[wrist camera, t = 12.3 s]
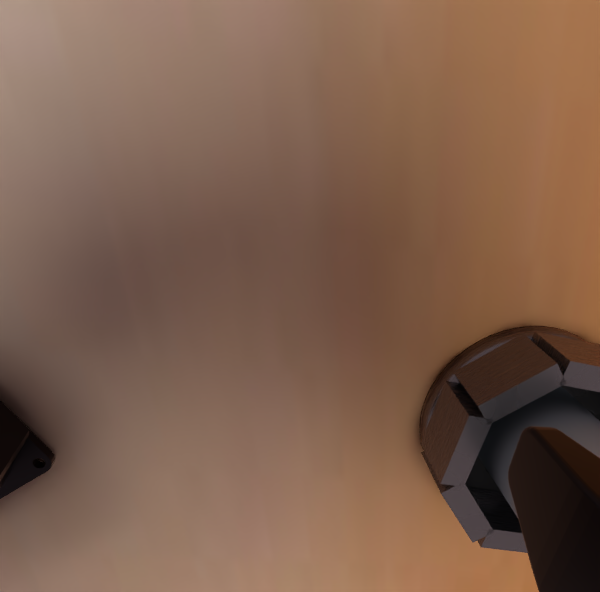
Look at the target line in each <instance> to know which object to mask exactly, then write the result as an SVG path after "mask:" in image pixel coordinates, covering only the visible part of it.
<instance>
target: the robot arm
mask: <svg viewBox="0 0 600 592" xmlns="http://www.w3.org/2000/svg"><path fill="white" fill-rule="evenodd" d="M37 458H40V459H43V460H44V461H45V462H40V461H39V460H37ZM54 460H55V456H54V454H53V452H52V451H51V450H50V449H49V448H48V447H47V446H46V445H45V444H44V443H43V442H42V441H41V440H40V439H39V438H38V437H37V436H36V435H35V434H34V433H33V432H32V431H31V430H30V429H29V428H28V427H27V426H26V425H25V424H24V423H23V422H22V421H21V420H19V419H18V418H17V417H16V416H15V415H14V414H13V413H12V412H11V411H10V410H9V409H8V408H7V407H6V406H5V405H4V404H3V403H2V402H1V401H0V499H1V498H2V497H4V496H6V495H8V494H9V493H11V492H13V491H14V490H16V489H18V488H19V487H21V486H23V485H25V484H26V483H28V482H30V481H31V480H33V479H35V478H36V477H38V476H40V475H42V474H43V473H45V472H47V471H48V470H49V469H50V468H51V466H52V464H53V462H54ZM508 482H509V487H510V490H511V494H512V498H513V501H514V505H515V509H516V512H517V516H518V519H519V523H520V527H521V530H522V534H523V538H524V541H525V545H526V548H527V552H528V556H529V559H530V563H531V567H532V570H533V574H534V577H535V580H536V583H537V587H538V590H539V592H600V458H599V457H598V456H596V455H595V454H593V453H592V452H590V451H589V450H587V449H586V448H584V447H583V446H582V445H580V444H579V443H577V442H576V441H574V440H573V439H571V438H570V437H568V436H567V435H565V434H564V433H563V432H561V431H560V430H558V429H556V428H552V427H537V426H530V427H527V428H525V429H524V430H523V431H522V433H521V436H520V438H519V441H518V444H517V446H516V449H515V452H514V455H513V457H512V460H511V463H510V466H509V470H508Z"/></svg>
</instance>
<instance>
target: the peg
mask: <svg viewBox="0 0 600 592" xmlns="http://www.w3.org/2000/svg"><path fill="white" fill-rule="evenodd" d="M530 426H537V427H552V428H556V429H558V430H560V431H561V432H563V433H564V434H565V435H567V436H568V437H570V438H571V439H573V440H574V441H576V442H577V443H579V444H580V445H582V446H583V447H584V448H586V449H587V450H589V451H590V452H592V453H593V454H595V455H596V456H598V457H599V458H600V421H599V420H598V419H597V418H596V417H595V416H594V415H592V414H591V413H590V412H589V411H588V410H587V409H586V408H585V407H584V406H583V405H582V404H581V403H580V402H578V401H577V400H576V399H575V398H574V397H573V396H572V395H571V394H570V393H569V392H568V391H566V390H565V389H564V388H562V387H561V386H560V387H559V388H557V389H555V390H553V391H551V392H549V393H547V394H545V395H544V396H542V397H540V398H538V399H536V400H534V401H532V402H530V403H529V404H527V405H525V406H523V407H521V408H519V409H517V410H516V411H514V412H512V413H510V414H508V415H506V416H504V417H502V418H501V419H499V420H497V421H495V422H493V423H492V424H491V427H490V429H489V431H488V433H487V436H486V438H485V440H484V443H483V445H482V447H481V449H480V452H479V454H478V457H479V458H480V460H481V461H482V463H483V464H484V466H485V468H486V469H487V471H488V472H489V474H490V475H491V477H492V478H493V480H494V482H495V483H496V485H497V486H498V488H499V489H500V491H501V493H502V494H503V496H504V497H505V499H506V500H507V502H508V504H509V505H510V507H511V508H512V510H513V511H514V513H515V515H516V516H517V512H516V509H515V505H514V501H513V498H512V494H511V490H510V487H509V482H508V470H509V466H510V463H511V460H512V457H513V455H514V452H515V449H516V446H517V444H518V441H519V438H520V436H521V433H522V431H523V430H524V429H525V428H527V427H530ZM517 518H518V516H517Z"/></svg>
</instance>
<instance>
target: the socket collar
mask: <svg viewBox="0 0 600 592" xmlns="http://www.w3.org/2000/svg"><path fill="white" fill-rule="evenodd" d="M560 386H561V387H562V388H564V389H565V390H566V391H568V392H569V393H570V394H571V395H572V396H573V397H574V398H575V399H576V400H577V401H578V402H580V403H581V404H582V405H583V406H584V407H585V408H586V409H587V410H588V411H589V412H590V413H591V414H592V415H594V416H595V417H596V418H597V419H598V420H599V421H600V345H599V344H594V343H589V342H586V341H585V340H583V339H582V338H580V337H578V336H577V335H574V334H572V333H570V332H568V331H564V330H561V329H557V328H551V327H544V326H529V327H520V328H514V329H510V330H506V331H502V332H500V333H497V334H494V335H491V336H489V337H487V338H485V339H483V340H481V341H479V342H477V343H475V344H474V345H472V346H471V347H469V348H467V349H466V350H465V351H463V352H462V353H461V354H460V355H458V356H457V357H456V358H455V359H454V360H453V361H452V362H451V363H450V364H449V365H448V366H446V367H445V369H444V370H443V371H442V372H441V374H440V375H439V376H438V377H437V379H436V380H435V382H434V384H433V385H432V387H431V388H430V391H429V393H428V395H427V397H426V399H425V402H424V405H423V409H422V413H421V419H420V437H421V445H422V447H423V449H424V451H423V452H421V453H422V455H423V457H424V459H425V461H426V463H427V465H428V467H429V470H430V472H431V474H432V476H433V478H434V480H435V482H436V484H437V486H438V488H439V490H440V492H441V494H442V496H443V497H444V499H445V500H446V502H447V503H448V505H449V507H450V508H451V510H452V511H453V513H454V514H455V516H456V517H457V519H458V521H459V522H460V524H461V525H462V527H463V528H464V530H465V531H466V533H467V535H468V536H469V538H470V539H471V541H472V542H475V541H478V543H479V544H480V546H481V547H483V548H492V549H500V550H509V551H517V552H525V553H528V552H527V548H526V545H525V541H524V538H523V534H522V530H521V527H520V523H519V519H518V518H517V516H516V515H515V513H514V511H513V510H512V508H511V507H510V505H509V504H508V502H507V500H506V499H505V497H504V496H503V494H502V493H501V491H500V489H499V488H498V486H497V485H496V483H495V482H494V480H493V478H492V477H491V475H490V474H489V472H488V471H487V469H486V468H485V466H484V464H483V463H482V461H481V460H480V458H479V457H478V454H479V452H480V449H481V447H482V445H483V443H484V440H485V438H486V436H487V433H488V431H489V429H490V427H491V424H492V423H493V422H495V421H497V420H499V419H501V418H502V417H504V416H506V415H508V414H510V413H512V412H514V411H516V410H517V409H519V408H521V407H523V406H525V405H527V404H529V403H530V402H532V401H534V400H536V399H538V398H540V397H542V396H544V395H545V394H547V393H549V392H551V391H553V390H555V389H557V388H559V387H560Z"/></svg>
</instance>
